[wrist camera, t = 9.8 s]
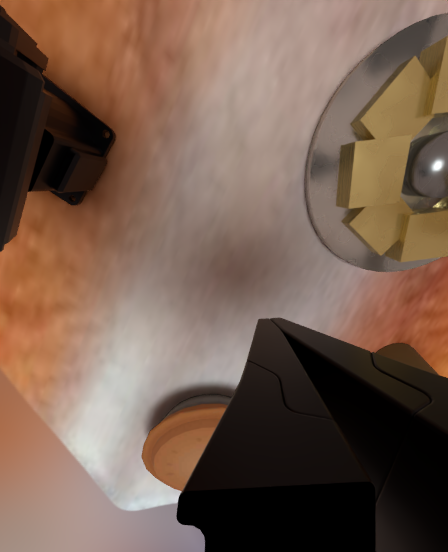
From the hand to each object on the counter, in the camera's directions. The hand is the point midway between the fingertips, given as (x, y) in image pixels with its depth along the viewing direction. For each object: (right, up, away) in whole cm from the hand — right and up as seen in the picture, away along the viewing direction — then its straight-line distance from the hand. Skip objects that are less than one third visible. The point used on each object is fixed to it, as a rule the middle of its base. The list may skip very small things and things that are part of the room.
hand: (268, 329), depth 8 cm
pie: (-4, -18, +22) cm, 28 cm away
